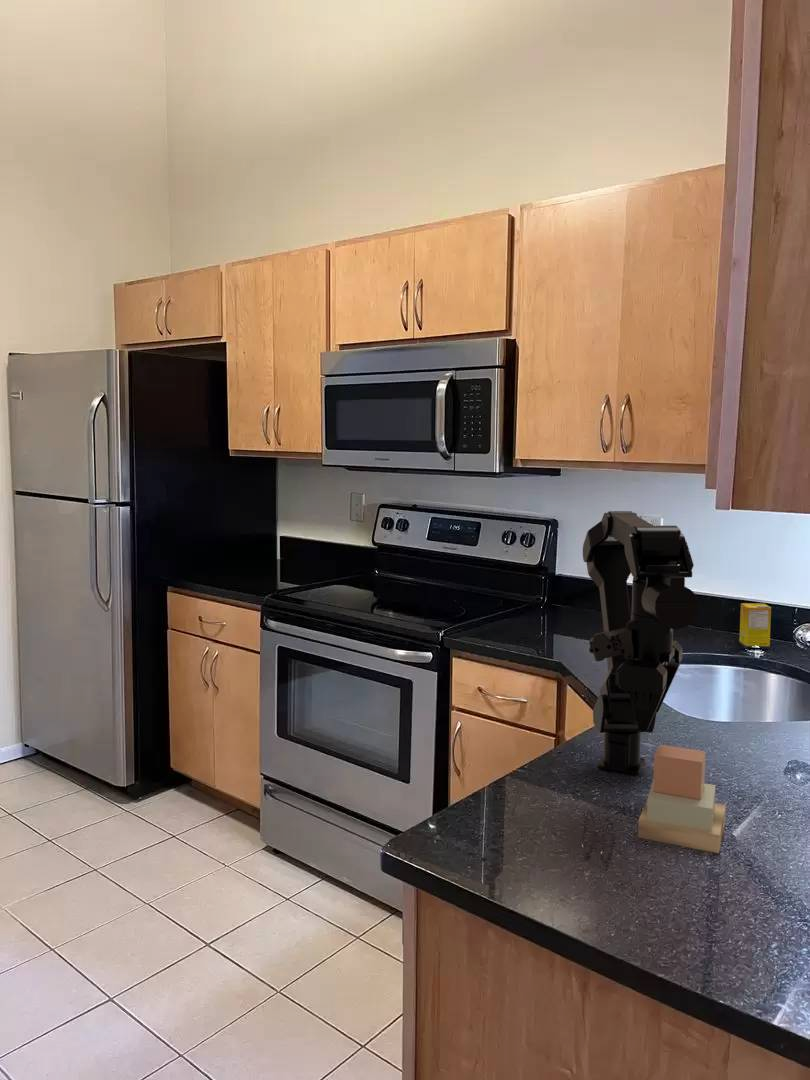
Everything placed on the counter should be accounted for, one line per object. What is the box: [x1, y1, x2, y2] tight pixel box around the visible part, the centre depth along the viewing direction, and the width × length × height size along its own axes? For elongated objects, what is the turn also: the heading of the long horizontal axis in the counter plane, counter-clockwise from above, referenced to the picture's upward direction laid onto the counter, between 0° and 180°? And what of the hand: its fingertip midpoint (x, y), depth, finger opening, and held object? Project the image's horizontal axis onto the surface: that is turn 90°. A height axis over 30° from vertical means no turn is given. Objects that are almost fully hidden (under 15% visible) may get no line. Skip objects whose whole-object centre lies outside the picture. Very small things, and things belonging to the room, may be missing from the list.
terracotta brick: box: [652, 744, 707, 800], centre depth 110 cm, size 4×6×5 cm
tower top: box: [646, 778, 716, 831], centre depth 110 cm, size 8×8×3 cm
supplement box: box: [738, 602, 772, 650], centre depth 211 cm, size 6×6×11 cm
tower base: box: [637, 799, 727, 854], centre depth 110 cm, size 10×10×3 cm
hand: (648, 720), depth 118 cm, fingers open, 9 cm apart
